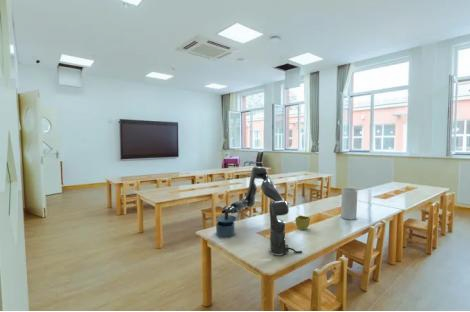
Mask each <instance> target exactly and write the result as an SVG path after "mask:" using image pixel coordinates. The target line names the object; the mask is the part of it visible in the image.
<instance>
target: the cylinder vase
mask: <svg viewBox="0 0 470 312" xmlns="http://www.w3.org/2000/svg"><path fill="white" fill-rule="evenodd" d="M340 201H341V202H340V217H341V219H345V220H349V221H351V220H356V219H357V214H358V213H357V212H358V189H357V188H351V187H343V188H341V199H340Z"/></svg>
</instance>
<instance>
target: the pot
mask: <svg viewBox="0 0 470 312" xmlns="http://www.w3.org/2000/svg"><path fill="white" fill-rule="evenodd" d="M235 229H236V228H235V221H233V222H229V223H223V222H219V221H217V222H216V224H215V235H216V236H217V237H218V238H225V239H226V238H227V239H228V238H231V237H233V236H235V232H236V231H235Z"/></svg>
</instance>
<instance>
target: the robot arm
mask: <svg viewBox="0 0 470 312" xmlns="http://www.w3.org/2000/svg"><path fill="white" fill-rule="evenodd" d="M256 179H257V180H263V181H262V183H261V185H260V188H261V191H262V193H263V195H264V196H265V197H266V198H268V199H269V200H271V201H270V202H269V206H268V207H269V226H270V227H269V253H270V254H272V255H273V256H275V257H276V256H278V257H281V256H285V255H286V253H289V250H291V251H293V252H294V253H296V254H300V253H303V251H302V250H295V248H292V247H289V244H286V221H284V220H283V219H280V218H278V217H282V216H286V215H288V214H289V204H288V203H287V201H286V200H285V199H284V197H283V196H282V195H281V194H280V192H279V190H278V189H277V187H276V185H275V184H274V182H273V180H272V179H271V177H270V175H269V172H268V169H267V168H266V167H264V166H253V167H252V169H251V171H250V178H249V184H248V187H247V191H246V195H244V196H243V197H242V199H240V200H237V201H234V202H232V203H231V204H230V205H229V206H226V205H224V206H223V208H222V209H221V214H224V215H225V214H228V215H229V214H236V213H239V212H240V211H242V210H243V209H246V208H247V207H248V208H253V207H254V206H255V203H256V194H257V192H258V186H257V184H256V181H255V180H256ZM225 209H228V210H227V211H225Z"/></svg>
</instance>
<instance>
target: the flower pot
mask: <svg viewBox="0 0 470 312" xmlns="http://www.w3.org/2000/svg"><path fill="white" fill-rule="evenodd" d="M310 223H311V217H310V216H305V215H298V216H296V217H295V225H296V227H297V228H298V230H302V231H306V230H307V229H308V228H309V226H310Z"/></svg>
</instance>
